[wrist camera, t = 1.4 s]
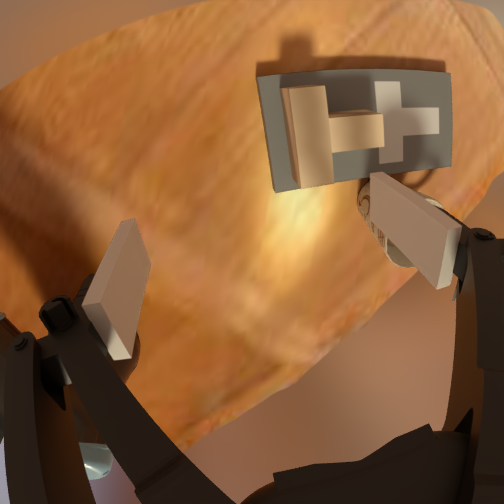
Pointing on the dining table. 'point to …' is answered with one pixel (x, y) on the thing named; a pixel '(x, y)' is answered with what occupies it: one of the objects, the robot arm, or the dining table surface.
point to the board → (373, 99)
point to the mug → (383, 240)
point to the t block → (323, 133)
